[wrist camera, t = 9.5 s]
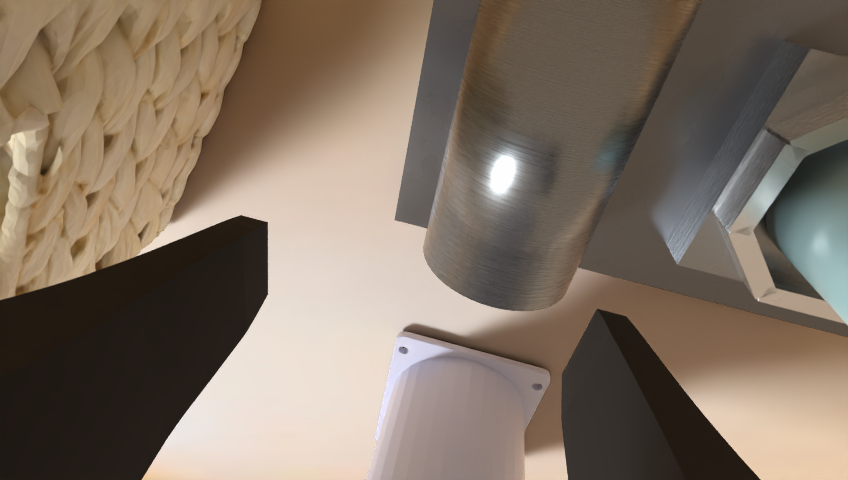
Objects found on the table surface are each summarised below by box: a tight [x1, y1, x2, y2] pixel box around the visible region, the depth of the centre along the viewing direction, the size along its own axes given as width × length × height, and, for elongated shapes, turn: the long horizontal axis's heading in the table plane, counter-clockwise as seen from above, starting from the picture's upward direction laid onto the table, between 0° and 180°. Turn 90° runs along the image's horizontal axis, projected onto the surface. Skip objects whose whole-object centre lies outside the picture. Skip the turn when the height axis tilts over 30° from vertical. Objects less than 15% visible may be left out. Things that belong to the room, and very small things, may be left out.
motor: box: [395, 0, 848, 337], centre depth 13 cm, size 11×18×6 cm, turn 79°
